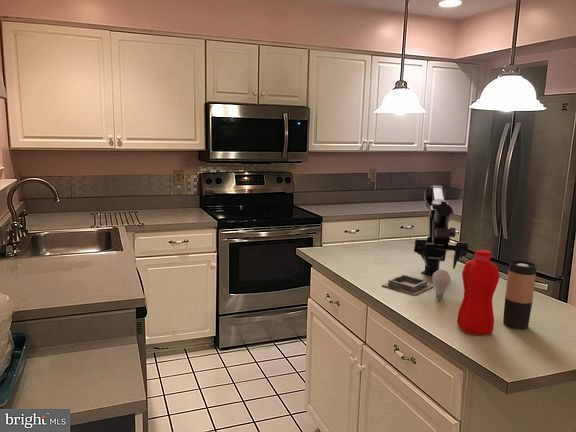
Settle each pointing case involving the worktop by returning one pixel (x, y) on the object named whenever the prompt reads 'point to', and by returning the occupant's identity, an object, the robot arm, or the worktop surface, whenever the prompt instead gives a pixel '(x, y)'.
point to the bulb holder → (408, 285)
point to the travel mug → (519, 294)
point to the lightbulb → (440, 282)
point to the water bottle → (478, 295)
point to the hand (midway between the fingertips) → (440, 267)
